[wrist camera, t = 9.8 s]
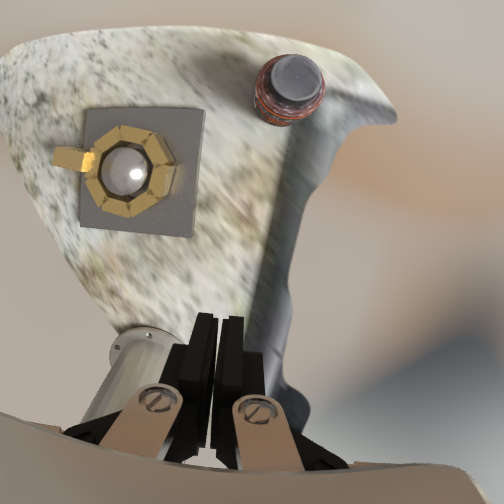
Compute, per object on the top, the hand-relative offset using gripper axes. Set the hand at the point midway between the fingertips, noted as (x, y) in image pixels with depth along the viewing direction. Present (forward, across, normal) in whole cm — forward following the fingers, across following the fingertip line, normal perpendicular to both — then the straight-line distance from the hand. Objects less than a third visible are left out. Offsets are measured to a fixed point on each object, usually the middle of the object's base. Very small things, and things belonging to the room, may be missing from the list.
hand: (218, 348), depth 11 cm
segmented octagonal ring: (+23, +14, -5) cm, 28 cm away
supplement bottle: (+25, -3, -14) cm, 29 cm away
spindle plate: (+25, +12, -5) cm, 28 cm away
